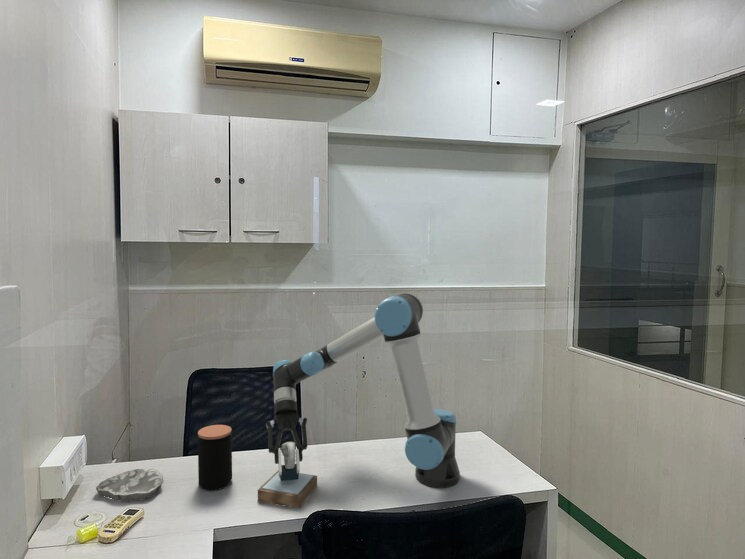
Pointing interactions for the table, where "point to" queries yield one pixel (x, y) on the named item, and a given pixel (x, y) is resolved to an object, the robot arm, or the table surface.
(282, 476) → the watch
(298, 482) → the walnut plinth
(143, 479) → the brain slice
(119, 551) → the table surface
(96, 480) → the table surface
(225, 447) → the coffee jar
